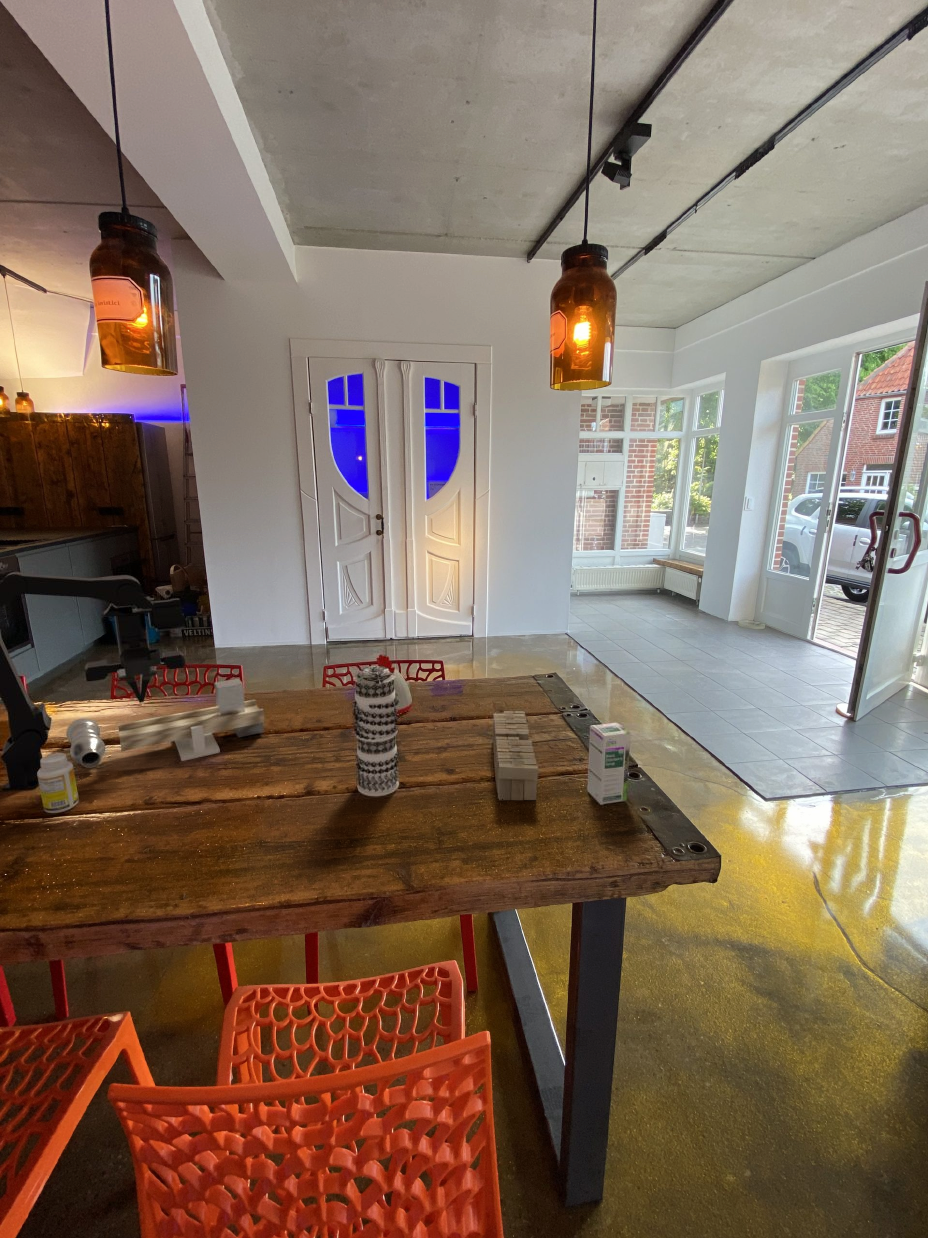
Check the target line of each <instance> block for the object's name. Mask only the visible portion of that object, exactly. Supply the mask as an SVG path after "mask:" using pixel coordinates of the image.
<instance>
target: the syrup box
mask: <svg viewBox="0 0 928 1238" xmlns="http://www.w3.org/2000/svg"><path fill="white" fill-rule="evenodd" d="M588 743H589V747H588V749H589V750H588V768H587V769H588V770H587V788H586V789H587V792H588V793H589V794H590V796H591V797H593V798H594V799H595V800H596V802H597V803H598V804H599V805H601V806H602V805H606V804H607V805H608V804H613V803H619V802H626V801H627V796H628V783H629V781H628V780H629V762H630V747H631V733H630V731H629V730H628V729H626V728H625V727H624V726H623V725H621V724H619V723H618V722H617V721H616V722H612V723H603V724H596V725H594V724H593V725H592V724H591V725H590V726H589V741H588Z"/></svg>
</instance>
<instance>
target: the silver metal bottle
mask: <svg viewBox="0 0 928 1238" xmlns="http://www.w3.org/2000/svg"><path fill="white" fill-rule="evenodd" d="M100 734H101V729H100V726H99V724H98V723H97V722H96V721H95V720H93V719H91V718H86V717H82V718H78V719H75V720H73V721H72V722H71V723H70V724H69V726H68V727H67V728H66V733H65V735H66V738H67V740H68V742H69V743H70V745H71V746H70V748H69V749H70V750H69V754H70V758H71V759H72V760H73V761H74V762H75V763H77V764H79V765H82V766H83V767H85V768H94V767H96V766H98V765H99V764H100V763H101V761H102V758H103V757H104V755H105V753H106V748H107V747H106V745H105V742H104V741H103V739H101V738H100Z"/></svg>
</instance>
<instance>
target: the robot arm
mask: <svg viewBox="0 0 928 1238" xmlns="http://www.w3.org/2000/svg"><path fill="white" fill-rule="evenodd" d="M142 587H143V586H141V584H140V582H139V580H138V579H137V578H135V577H134V576H131V575H129V574H128V575H127V574H125V575H124V574H121V575H109V576H103V577H90V578H89V577H88V578H87V577H76V576H65V575H64V576H63V575H62V576H60V575H48V574H35V573H34V574H32V573H23V572H20V571H19V572H18V571H13V572H10V573H8V574H6V576H5V577H4V578H2V579H1V580H0V609H1V608H2V607H4V606H5V605H7V604H8V603H9V602H10V601H12V600H13V599H14V598H16V597H18V596H19V595H33V596H34V595H38V596H51V597H52V596H56V597H71V598H72V597H73V598H76V597H77V598H90V599H95V600H100V601H101V602H106V603H109V605H108V608H107V609H105V610H104V611H103V617H105V618H111V617H114V622H115V623H114V624H115V629H116V637H117V645H118V646H117V647H118V652H119V660H120V662H115V663H109V664H108V662H107V660H106V659H105V660H97V661H90V662H89V661H88V662H87V663H86V664H85V666H84V669H85V670H84V672H85V678H86V682H88V683H89V682H95V681H102V680H106V678H107V677H109V674H111V673H117V675H118V680H119V681H125V682H126V683H127V684H128V686H129V688H131V690H132V691H133V693H134V695H135V697H136V699H137V700H138V702H139V703H140V704H141V703H144V701H145V698H146V694H147V691H148V686H149V683H150V680H151V679H152V677H153V676H157V675H158V671H157V667H161V666H165V667H166V668H167V669H169V670H175V669H182V668H185V667H186V659H185V656H184V654H183V652H182V651H180V650H179V649H178V650H170V651H164V652H162V656H161V652H160V649H159V648H153V649H150V642H149V634H148V627H147V620H146V619H147V618H146V614H148V623H149V628H153V629H154V630H155V631H156V632H161V631H162V632H163V631H172V630H173V631H174V630H181V629H185V628H186V621H185V619H186V618H185V615H184V613H183V609H182V608H183V607H182V602H181V600H180V598H176V597H175V598H170V599H163V600H155V601H153V600H152V599H151V596H147V595H146V594H145V592H144V591H143V588H142ZM116 605H121V606H116ZM133 606H135V607H136V608H133ZM137 607H138V608H137ZM1 632H2V631H1V630H0V699H1V701H2V704H3V705H4V708H5V709H6V711H7V712H6V713H7V719H8V729H9V733H10V736H9V737H8V738H7V739H6V740H5V743H4V745H3V750H2V752H1V756H0V759H1V760H2V761H3V763H4V764H5V770H6V776H7V780H8V781H7V782H6V783H5V784H3V785H2V786H1V790H2V791H5V790H6V791H7V790H8V791H9V790H20V789H21V790H23V789H24V790H25V789H36V788H37V787H39V781H38V776H37V772H38V770H39V769H40V768H41V763H40V760H41V759H42V758H43V753H42V750H41V749H42V747H43V746H44V745H45V744H46V742H47V741H48V738H49V732H50V731H51V726H52V720H53V719H52V717H50V716H49V715H48V713H47V709H46V704H45V703H41V704H39V705H36V704H35V703H34V702H33V701H32V700H31V698H30V697H29V694H28V693H27V689H26V688H25V686H24V684H23V682H22V679H21V677H20V675H19V673H18V671H17V669H16V666H15V664H14V662H13V659H12V658H11V655H10V653H9V651H8V649H7V647H6V645H5V643H4V641H3V638H2V633H1ZM136 676H139V677H140V679H139V681H140V682H139V683H140V687H139V686H138V682H137V679H136ZM139 688H140V689H139Z"/></svg>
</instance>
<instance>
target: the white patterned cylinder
mask: <svg viewBox="0 0 928 1238" xmlns="http://www.w3.org/2000/svg"><path fill="white" fill-rule="evenodd" d="M394 678H395V675H394V674H392V673H391V672H390V671H389V669H387V668H385V667H381V666H378V665H372V666H370V665H369V666H365V667H363V668H362V669H360V670H359V672H358V673H357V674H355V675H354V676H353V681H354V682H355V683H354V684H355V691H354V699H355V700H353V701H352V705H351V707H352V709H353V710H352V715H353V720H354V721H353V725H354V728H353V730H354V735H355V737H356V739H357V747H356V749H357V750H356V752H357V754H356V756H355V759H356V763H355V765H356V772H355V774H356V782H357V783H356V784H357V790H358V792H359V793H361V794H362V795H364V796H368V797H382V796H387V795H390V794H392V793H394V792H395V791H396V790H398V788H399V786H400V782H399V777H400V775H399V771H400V769H399V768H398V765H399V762H400V761H399V759H398V758H399V753H398V749H397V743H396V735H397V734H398V733H399V732H398V729H399V727H398V725H396V723H397V722H398V721H399V716H396V715H397V714H398V709H396V708H395V707H394V706H396V705H398V703H399V701H398V700H397V699H396V698H397V697H396V696H398V694H396V693H395V690H394Z"/></svg>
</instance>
